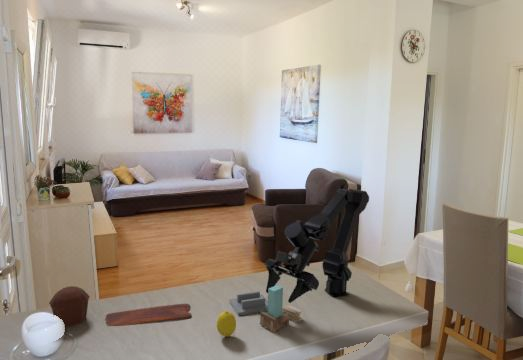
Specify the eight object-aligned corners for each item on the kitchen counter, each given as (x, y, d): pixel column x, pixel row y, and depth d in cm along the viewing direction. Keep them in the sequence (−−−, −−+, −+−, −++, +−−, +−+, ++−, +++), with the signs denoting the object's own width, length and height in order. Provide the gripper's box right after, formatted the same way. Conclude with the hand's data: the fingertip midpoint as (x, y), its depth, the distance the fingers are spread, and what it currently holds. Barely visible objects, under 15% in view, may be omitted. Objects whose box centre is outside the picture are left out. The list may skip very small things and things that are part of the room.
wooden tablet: (189, 305, 142) (189, 301, 142) (192, 320, 133) (192, 315, 133) (106, 314, 136) (106, 309, 135) (103, 329, 126) (103, 324, 126)
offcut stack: (283, 311, 139) (283, 303, 138) (302, 320, 133) (302, 311, 133) (277, 314, 137) (277, 306, 136) (296, 323, 131) (296, 314, 131)
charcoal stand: (262, 297, 148) (262, 287, 148) (272, 310, 139) (273, 300, 138) (229, 302, 144) (229, 292, 144) (238, 315, 135) (238, 305, 134)
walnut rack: (275, 317, 134) (275, 305, 134) (289, 324, 130) (289, 312, 129) (259, 325, 129) (260, 312, 129) (274, 332, 125) (274, 319, 124)
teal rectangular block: (276, 321, 132) (277, 285, 130) (281, 323, 130) (282, 287, 128) (267, 325, 129) (268, 288, 127) (273, 328, 127) (274, 291, 125)
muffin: (85, 327, 126) (84, 296, 124) (45, 331, 124) (43, 299, 122) (93, 309, 137) (91, 280, 136) (56, 311, 135) (54, 282, 133)
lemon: (237, 340, 120) (238, 314, 119) (218, 343, 119) (218, 316, 118) (233, 330, 126) (233, 305, 124) (215, 333, 124) (215, 308, 123)
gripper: (269, 234, 136) (243, 275, 130) (315, 248, 124) (289, 295, 118) (284, 252, 143) (260, 292, 137) (329, 267, 130) (305, 312, 124)
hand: (277, 297), depth 129 cm, fingers open, 9 cm apart
